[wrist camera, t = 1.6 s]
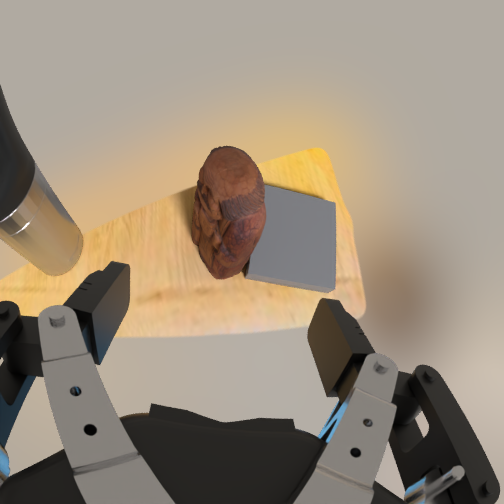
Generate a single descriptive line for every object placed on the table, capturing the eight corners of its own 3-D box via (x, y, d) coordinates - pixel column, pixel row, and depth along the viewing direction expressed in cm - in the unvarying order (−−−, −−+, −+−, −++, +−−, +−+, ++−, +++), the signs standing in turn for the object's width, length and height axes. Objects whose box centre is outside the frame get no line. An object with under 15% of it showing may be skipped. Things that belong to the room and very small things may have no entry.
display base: (244, 278, 40) (248, 273, 38) (257, 192, 46) (260, 183, 43) (327, 293, 42) (335, 289, 39) (329, 210, 48) (335, 202, 45)
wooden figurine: (182, 218, 41) (181, 132, 25) (220, 205, 43) (239, 120, 27) (213, 288, 38) (229, 233, 22) (253, 272, 40) (295, 209, 24)
